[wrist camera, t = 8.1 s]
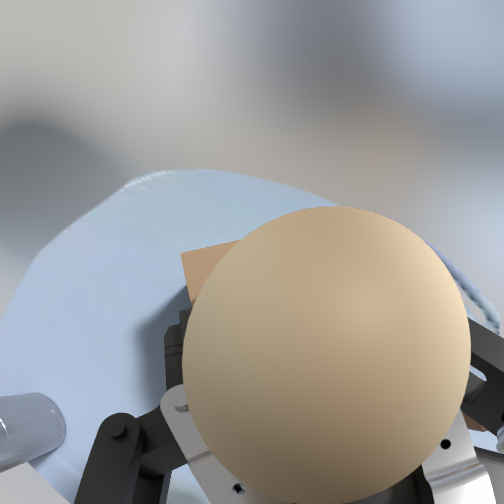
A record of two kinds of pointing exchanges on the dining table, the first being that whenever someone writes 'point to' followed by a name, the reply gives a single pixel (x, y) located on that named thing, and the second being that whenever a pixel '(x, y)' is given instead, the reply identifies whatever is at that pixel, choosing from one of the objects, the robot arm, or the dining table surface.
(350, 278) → the tan ridged cylinder
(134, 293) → the dining table surface
